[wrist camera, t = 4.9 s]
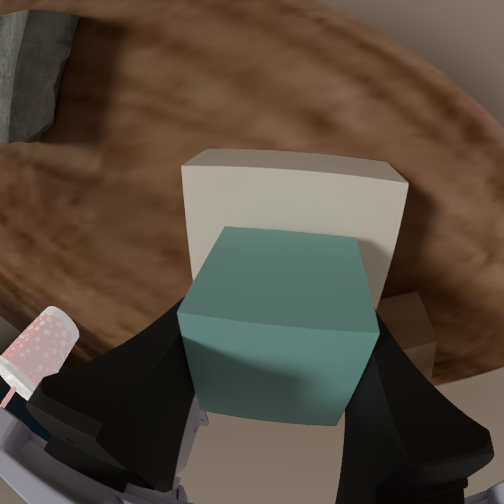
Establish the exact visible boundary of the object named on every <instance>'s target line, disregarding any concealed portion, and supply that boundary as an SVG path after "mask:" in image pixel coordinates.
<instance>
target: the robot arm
mask: <svg viewBox="0 0 504 504" xmlns="http://www.w3.org/2000/svg"><path fill="white" fill-rule="evenodd" d="M185 296H186V295H185ZM185 296H184V297H183V298H182V299H181V300H180V301H179V302H178V303H176V304H175V305H174V306H173V307H172V308H171V309H169V310H168V311H167V312H166V313H165V314H164V315H162V316H161V317H160V318H159V319H157V320H156V321H155V322H153V323H152V324H151V325H150V326H148V327H147V328H146V329H144V330H143V331H142V332H140V333H139V334H137V335H136V336H134V337H133V338H131V339H130V340H128V341H126V342H125V343H123V344H121V345H120V346H118V347H116V348H114V349H112V350H110V351H109V352H107V353H105V354H103V355H101V356H99V357H97V358H95V359H93V360H90V361H88V362H86V363H83V364H81V365H78V366H76V367H73V368H70V369H68V370H65V371H61V372H58V373H55V374H52V375H48V376H45V377H43V378H42V380H41V381H40V383H39V384H38V386H37V387H36V389H35V390H34V392H33V393H32V395H31V396H30V398H29V400H28V401H27V403H26V407H27V409H28V411H29V412H30V413H31V415H32V416H33V417H34V418H35V419H36V420H37V421H38V422H39V423H40V424H41V425H42V426H43V427H44V428H45V429H47V430H48V431H49V432H50V433H51V434H52V435H51V437H50V439H49V441H48V442H47V441H45V440H44V439H42V438H40V437H39V436H37V435H36V434H34V433H33V432H31V431H30V429H29V428H28V427H27V426H26V425H25V424H23V423H22V422H21V421H20V420H19V419H17V418H16V417H15V416H13V415H12V414H11V413H9V412H8V411H7V410H5V409H4V408H3V407H0V476H1V477H2V478H3V479H4V480H5V481H6V482H7V483H8V484H9V485H10V486H11V487H12V488H13V489H14V490H15V491H16V492H17V493H18V494H19V495H20V496H21V497H22V498H23V499H24V500H25V501H27V502H28V503H29V504H192V503H188V502H187V495H186V492H185V490H184V488H183V486H181V485H179V482H180V479H181V478H180V477H177V476H176V475H177V474H179V473H180V472H181V471H182V470H183V469H184V468H185V466H186V464H187V461H188V458H189V455H190V452H191V448H192V445H193V442H194V439H195V436H196V433H197V429H198V427H199V425H204V426H207V425H208V418H207V415H206V411H203V410H200V408H199V404H198V400H197V397H196V393H195V389H194V385H193V381H192V377H191V373H190V369H189V365H188V361H187V357H186V352H185V348H184V344H183V339H182V335H181V330H180V325H179V320H178V315H177V311H178V309H179V307H180V305H181V303H182V301H183V300H184V298H185ZM374 309H375V308H374ZM375 313H376V318H377V322H378V327H379V332H380V334H379V336H378V339H377V341H376V344H375V346H374V349H373V351H372V353H371V356H370V358H369V360H368V362H367V365H366V367H365V369H364V371H363V374H362V376H361V378H360V380H359V382H358V384H357V386H356V388H355V391H354V393H353V395H352V397H351V399H350V401H349V403H348V405H347V406H346V408H345V433H344V446H343V457H342V466H341V473H340V480H339V487H338V492H337V497H336V502H335V504H504V480H503V481H501V482H499V483H497V484H496V485H494V486H492V487H490V488H489V489H488V490H486V491H483V492H480V493H478V494H475V495H472V496H469V497H466V498H464V491H463V490H464V488H466V487H467V486H468V479H467V477H469V476H471V475H472V474H474V473H475V472H477V471H478V470H480V469H481V468H483V467H484V466H485V465H487V464H488V463H489V462H490V461H491V460H492V459H493V457H494V451H493V445H492V441H491V437H490V433H489V430H487V429H486V428H484V427H483V426H481V425H480V424H478V423H477V422H476V421H474V420H472V419H471V418H470V417H468V416H467V415H466V414H464V413H463V412H462V411H461V410H459V409H458V408H457V407H456V406H454V405H453V404H452V403H451V402H450V401H449V400H448V399H447V398H445V397H444V396H443V395H442V394H441V393H440V392H439V391H438V390H437V389H436V388H435V387H434V386H433V385H432V384H431V383H430V382H429V381H428V380H427V379H426V378H425V376H424V375H423V374H422V373H421V372H420V371H419V370H418V369H417V367H416V366H415V365H414V364H413V363H412V361H411V360H410V359H409V358H408V356H407V355H406V354H405V352H404V351H403V350H402V348H401V347H400V346H399V344H398V343H397V341H396V340H395V338H394V337H393V335H392V334H391V333H390V331H389V330H388V328H387V327H386V325H385V324H384V322H383V320H382V319H381V317H380V316H379V314H378V313H377V311H376V309H375Z"/></svg>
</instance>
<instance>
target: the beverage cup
mask: <svg viewBox="0 0 504 504" xmlns="http://www.w3.org/2000/svg"><path fill="white" fill-rule="evenodd" d="M78 338H79V331H78V329H77V327H76V325H75V324H74V322H73V321H72V320H71V318H69V317H68V316H67V315H66V314H65V313H64V312H63V311H61V310H60V309H58V308H56V307H53V306H50V307H48V308H46V309H45V310H44V311H43V312H42V313H41V314H40V315H39V316H38V317H37V318H36V319H35V320H34V321H33V322H32V323H31V324H30V325H29V326H28V327H27V329H26V330H25V331H24V332H23V333H22V334H21V335H20V336H19V337H18V338H17V339H16V340H15V341H14V342H13V343H12V344H11V345H10V347H9V348H8V349H7V350H6V351H5V352H4V353H3V354H2V356H0V375H1V376H2V377H3V378H4V380H5V381H6V382H7V383H8V384H9V385H10V386H11V387H12V388H11V390H10V391H9V393H8V394H7V395H6V397H5V398H4V400H3V401H2V403H1V405H0V407H3V408H5V406H6V405H7V403H8V402H9V400H10V399H11V397H12V395H13V394H14V392H15V391H16V392H18V393H19V394H20V395H21V396H22V397H24V398H25V399H26V400H27V401H28V400H29V398H30V396H31V395H32V393H33V392H34V390H35V389H36V387H37V386H38V384H39V383H40V381H41V380H42V378H43V377H45V376H48V375H52V374H55V373H58V371H59V369H60V367H61V366H62V364H63V362H64V361H65V359H66V357H67V356H68V354H69V352H70V351H71V349H72V347H73V346H74V344H75V343H76V341H77V339H78Z"/></svg>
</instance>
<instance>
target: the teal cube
mask: <svg viewBox="0 0 504 504" xmlns="http://www.w3.org/2000/svg"><path fill="white" fill-rule="evenodd" d="M177 315H178V320H179V325H180V330H181V335H182V339H183V344H184V348H185V352H186V357H187V361H188V365H189V369H190V373H191V377H192V381H193V385H194V389H195V393H196V397H197V400H198V404H199V408H200V410H203V411H209V412H213V413H218V414H224V415H230V416H236V417H242V418H249V419H257V420H263V421H272V422H281V423H292V424H305V425H324V426H336V425H337V423H338V422H339V419H340V418H341V416H342V414H343V412H344V410H345V408H346V406H347V405H348V403H349V401H350V399H351V397H352V395H353V393H354V391H355V388H356V386H357V384H358V382H359V380H360V378H361V376H362V374H363V371H364V369H365V367H366V365H367V362H368V360H369V358H370V356H371V353H372V351H373V349H374V346H375V344H376V341H377V339H378V336H379V334H380V332H379V327H378V322H377V318H376V313H375V309H374V305H373V301H372V296H371V292H370V288H369V284H368V281H367V277H366V273H365V269H364V266H363V262H362V258H361V255H360V251H359V248H358V244H357V241H356V238H355V237H346V236H336V235H325V234H315V233H304V232H292V231H281V230H269V229H257V228H244V227H231V226H224V228H223V230H222V232H221V233H220V235H219V237H218V239H217V240H216V242H215V244H214V246H213V247H212V249H211V251H210V253H209V254H208V256H207V258H206V260H205V262H204V263H203V265H202V267H201V269H200V271H199V272H198V274H197V276H196V278H195V280H194V281H193V283H192V285H191V287H190V289H189V290H188V292H187V294H186V296H185V298H184V300H183V301H182V303H181V305H180V307H179V309H178V311H177Z"/></svg>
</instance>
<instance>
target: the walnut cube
mask: <svg viewBox="0 0 504 504" xmlns="http://www.w3.org/2000/svg"><path fill="white" fill-rule="evenodd" d="M376 311H377V313H378V314H379V316H380V317H381V319H382V320H383V322H384V324H385V325H386V327H387V328H388V330H389V331H390V333H391V334H392V335H393V337H394V338H395V340H396V341H397V343H398V344H399V346H400V347H401V348H402V350H403V351H404V352H405V354H406V355H407V356H408V358H409V359H410V360H411V361H412V363H413V364H414V365H415V366H416V367H417V369H418V370H419V371H420V372H421V373H422V374H423V375H424V376H425V378H426V379H427V380H428V381H429V382H430V381H431V376H432V370H433V365H434V359H435V353H436V346H437V339H436V337H435V334H434V331H433V328H432V326H431V323H430V320H429V318H428V315H427V313H426V310H425V308H424V305H423V303H422V301H421V298H420V296H419V293H418V291H415V292H411V293H406V294H402V295H398V296H393V297H389V298H384V299H380V300H379V303H378V306H377V309H376Z"/></svg>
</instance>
